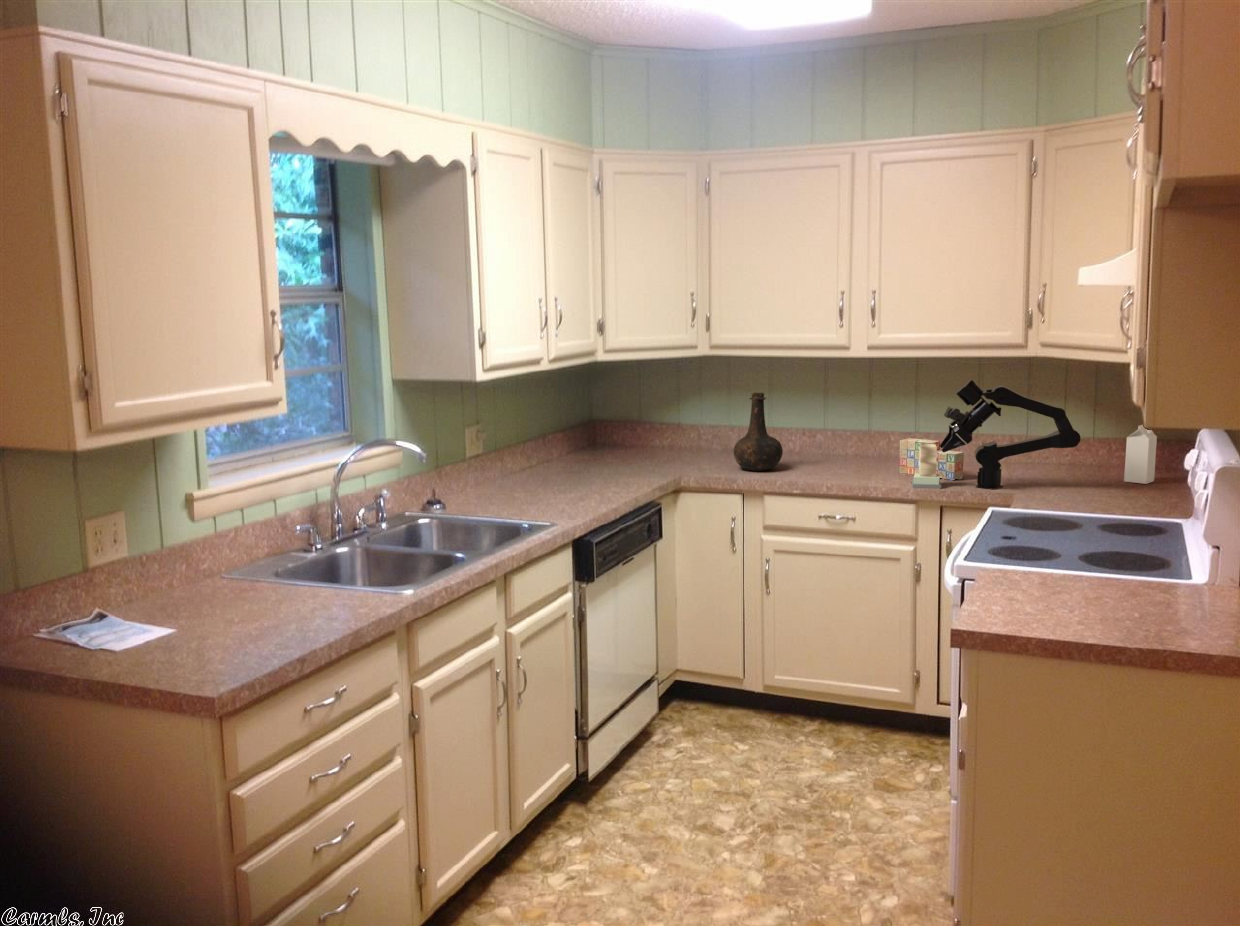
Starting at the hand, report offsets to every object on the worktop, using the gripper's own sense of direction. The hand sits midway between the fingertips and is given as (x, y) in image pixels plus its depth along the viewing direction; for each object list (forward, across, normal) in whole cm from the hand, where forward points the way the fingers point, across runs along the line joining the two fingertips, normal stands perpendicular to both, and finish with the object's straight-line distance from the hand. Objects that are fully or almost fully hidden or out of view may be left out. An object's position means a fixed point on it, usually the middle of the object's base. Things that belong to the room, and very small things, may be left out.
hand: (941, 449), depth 354 cm
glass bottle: (+53, -25, -36) cm, 68 cm away
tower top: (+11, 0, +5) cm, 12 cm away
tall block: (+9, 0, +3) cm, 10 cm away
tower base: (+13, 0, +6) cm, 14 cm away
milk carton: (-36, -16, +55) cm, 67 cm away
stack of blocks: (+10, -18, +8) cm, 22 cm away
